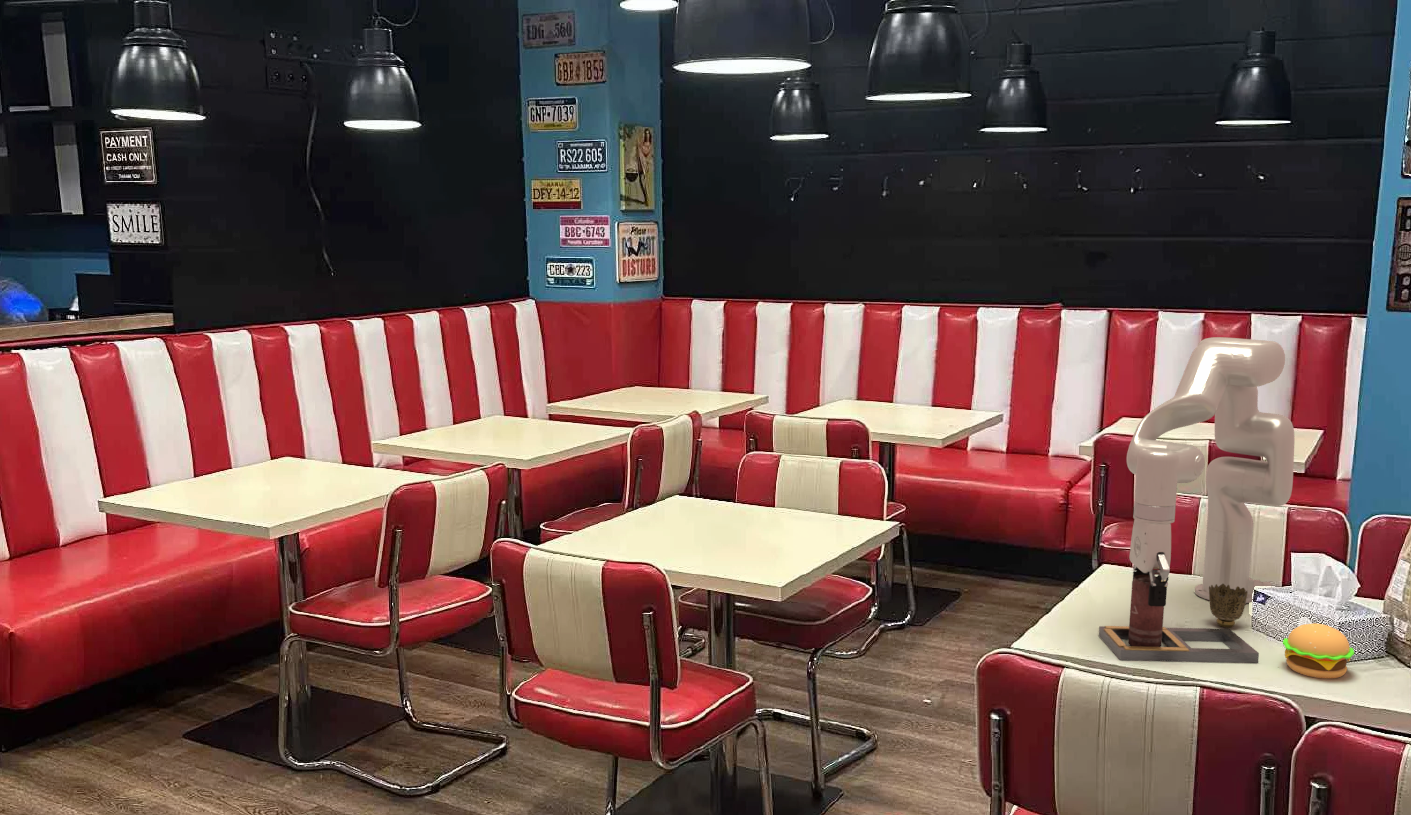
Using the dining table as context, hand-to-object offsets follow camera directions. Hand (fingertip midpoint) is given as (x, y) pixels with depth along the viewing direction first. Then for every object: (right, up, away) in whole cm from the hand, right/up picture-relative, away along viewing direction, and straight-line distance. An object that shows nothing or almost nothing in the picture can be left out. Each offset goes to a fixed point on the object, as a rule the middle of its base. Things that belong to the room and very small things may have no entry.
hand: (1148, 598), depth 237 cm
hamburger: (+28, -12, -9) cm, 32 cm away
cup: (+22, -8, +16) cm, 28 cm away
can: (0, -10, +2) cm, 10 cm away
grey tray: (+6, -10, +1) cm, 12 cm away
